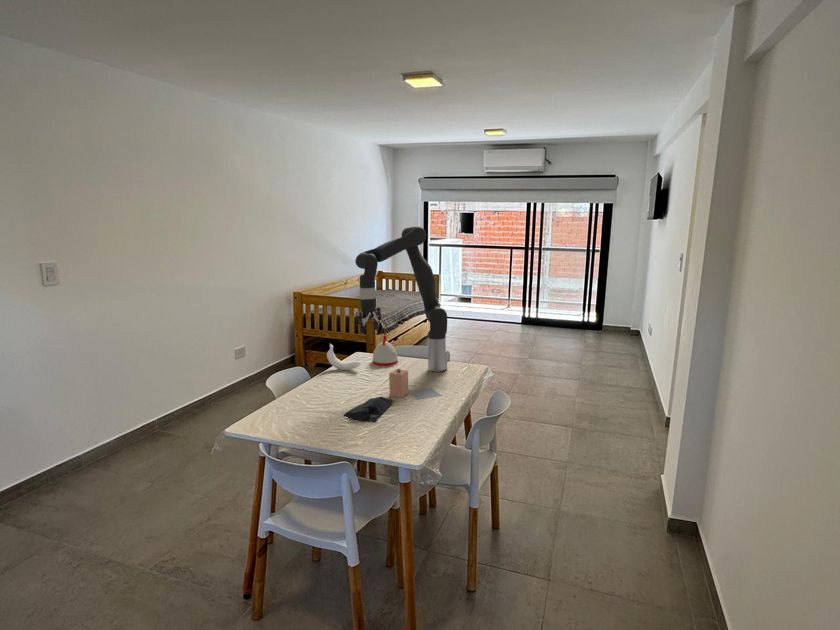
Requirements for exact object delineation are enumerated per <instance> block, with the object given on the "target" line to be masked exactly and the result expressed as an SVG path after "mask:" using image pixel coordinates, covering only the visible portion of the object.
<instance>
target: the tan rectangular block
mask: <svg viewBox="0 0 840 630" xmlns="http://www.w3.org/2000/svg"><path fill="white" fill-rule="evenodd" d="M388 378H389V380H388V381H389V396H391V397H397V398H404V397H405V396H406V395H408V394H409V392H408V391H409V370H406V369H405V370H404V369H401V368H396V369H393V370H391V371H390V372H389V374H388Z"/></svg>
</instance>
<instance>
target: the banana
mask: <svg viewBox="0 0 840 630" xmlns="http://www.w3.org/2000/svg"><path fill="white" fill-rule="evenodd" d="M326 358H327V360H328V362H329V364H330V365H331V366H333V367H334V368H335V369H338V370H340V371H350V370H354V369H357V368H358V367H360V366H361V365H362V361H359V360H351V361H342V360H341V359H339V358H337V356H336V354H335V353H334V345H333V344H332V343H329V350H328V351H327V353H326Z"/></svg>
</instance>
